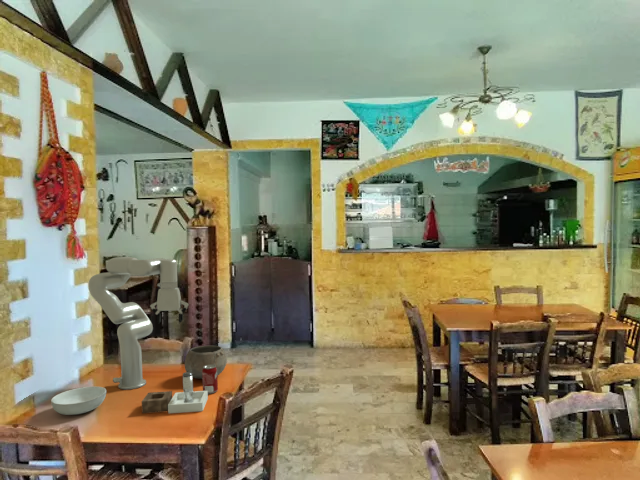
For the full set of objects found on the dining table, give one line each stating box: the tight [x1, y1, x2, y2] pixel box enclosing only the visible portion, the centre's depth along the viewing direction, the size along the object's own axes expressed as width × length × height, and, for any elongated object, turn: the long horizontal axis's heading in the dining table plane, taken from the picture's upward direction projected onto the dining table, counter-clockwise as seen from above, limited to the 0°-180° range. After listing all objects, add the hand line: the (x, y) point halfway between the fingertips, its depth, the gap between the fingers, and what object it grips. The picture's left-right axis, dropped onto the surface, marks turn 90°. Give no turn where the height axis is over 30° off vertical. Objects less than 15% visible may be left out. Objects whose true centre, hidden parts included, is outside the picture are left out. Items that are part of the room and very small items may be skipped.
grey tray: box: [167, 390, 209, 414], centre depth 192 cm, size 14×14×4 cm
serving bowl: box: [50, 386, 107, 416], centre depth 191 cm, size 21×21×7 cm
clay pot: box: [184, 345, 228, 380], centre depth 228 cm, size 21×21×15 cm
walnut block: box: [141, 390, 173, 414], centre depth 191 cm, size 10×10×5 cm
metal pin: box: [182, 371, 194, 403], centre depth 192 cm, size 4×4×13 cm
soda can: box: [201, 365, 219, 395], centre depth 208 cm, size 7×7×12 cm
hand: (169, 322), depth 209 cm, fingers open, 9 cm apart
